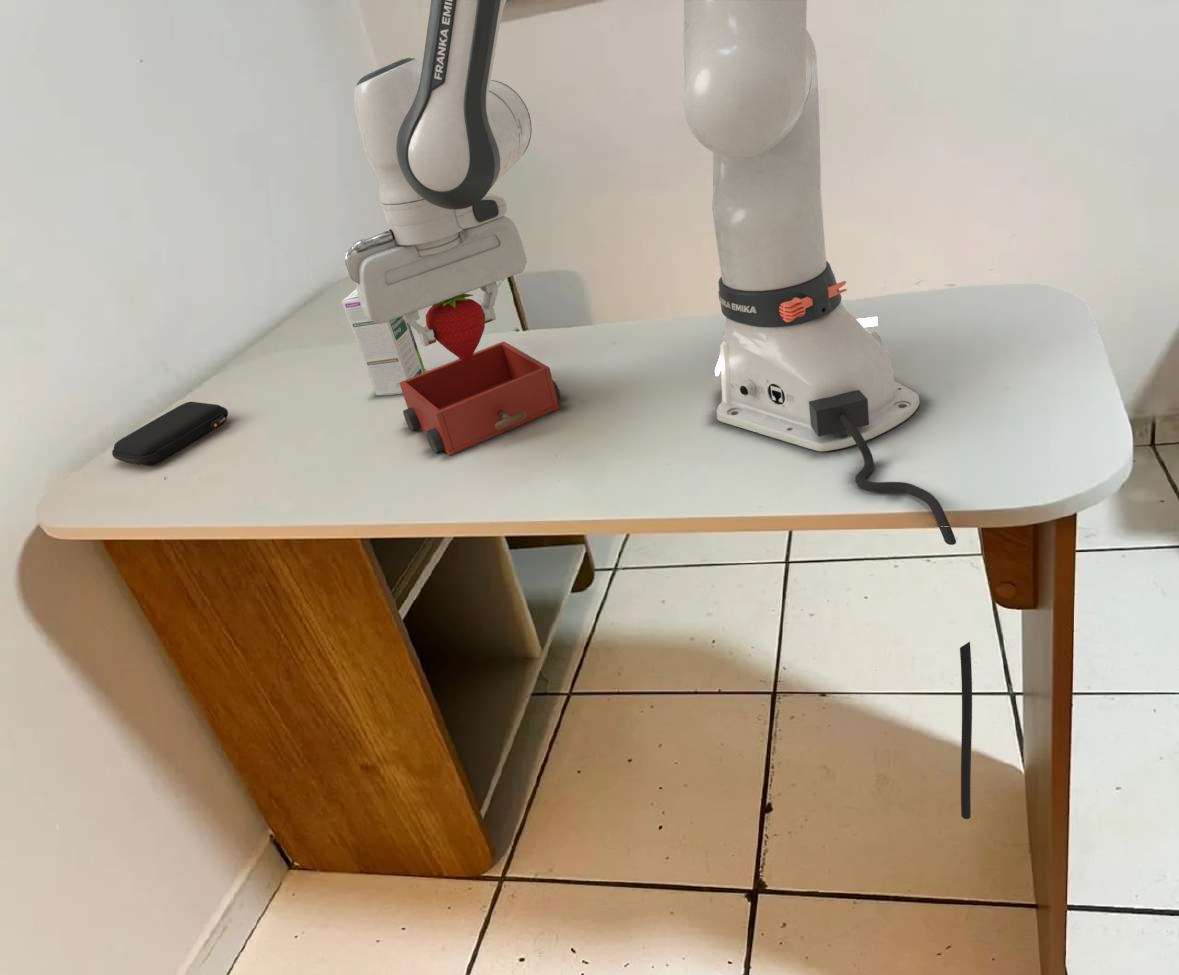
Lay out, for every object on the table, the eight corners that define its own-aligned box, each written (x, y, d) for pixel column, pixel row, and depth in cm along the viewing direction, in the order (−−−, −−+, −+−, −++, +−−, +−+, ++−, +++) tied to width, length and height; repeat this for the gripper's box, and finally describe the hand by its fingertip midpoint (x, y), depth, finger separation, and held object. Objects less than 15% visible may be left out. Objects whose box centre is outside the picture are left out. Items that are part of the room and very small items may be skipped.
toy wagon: (579, 413, 113) (569, 371, 110) (452, 469, 107) (438, 426, 104) (520, 376, 126) (510, 338, 124) (404, 424, 121) (391, 385, 118)
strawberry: (452, 350, 118) (430, 274, 113) (504, 348, 115) (484, 270, 110) (429, 371, 114) (404, 292, 109) (482, 370, 111) (460, 289, 106)
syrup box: (413, 393, 129) (380, 293, 122) (374, 396, 131) (340, 298, 123) (427, 374, 134) (396, 277, 126) (390, 378, 135) (357, 283, 128)
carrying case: (157, 473, 123) (243, 420, 133) (147, 453, 122) (234, 401, 132) (111, 465, 129) (197, 414, 139) (101, 445, 127) (188, 396, 137)
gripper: (347, 251, 100) (387, 369, 106) (517, 195, 106) (543, 309, 113) (332, 242, 105) (370, 355, 112) (494, 189, 111) (521, 298, 118)
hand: (459, 331), depth 113 cm, fingers closed on strawberry, 6 cm apart
